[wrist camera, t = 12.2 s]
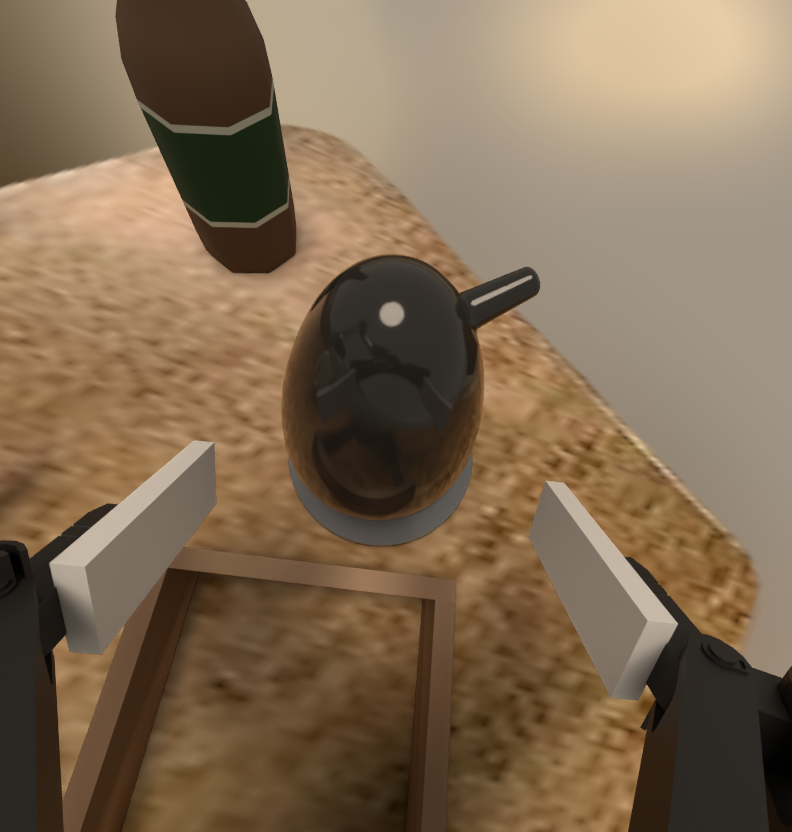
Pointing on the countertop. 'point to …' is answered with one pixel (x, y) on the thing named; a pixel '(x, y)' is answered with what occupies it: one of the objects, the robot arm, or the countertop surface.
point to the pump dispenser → (390, 384)
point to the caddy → (153, 652)
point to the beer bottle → (214, 122)
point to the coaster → (385, 530)
